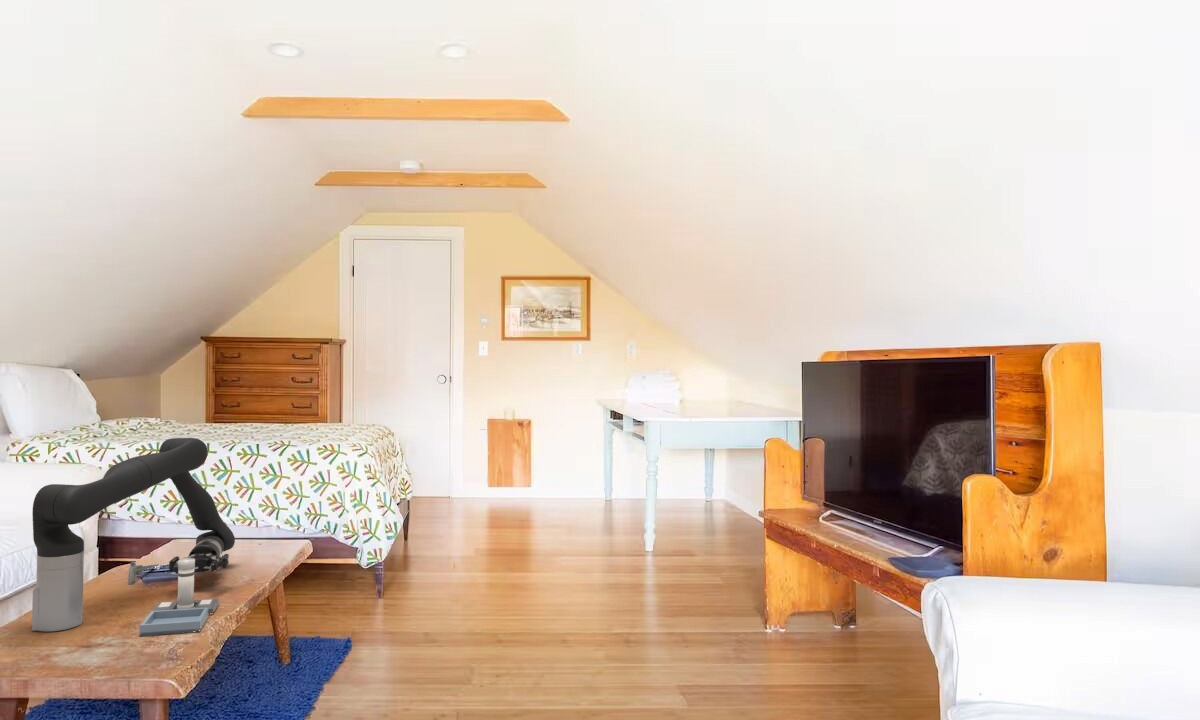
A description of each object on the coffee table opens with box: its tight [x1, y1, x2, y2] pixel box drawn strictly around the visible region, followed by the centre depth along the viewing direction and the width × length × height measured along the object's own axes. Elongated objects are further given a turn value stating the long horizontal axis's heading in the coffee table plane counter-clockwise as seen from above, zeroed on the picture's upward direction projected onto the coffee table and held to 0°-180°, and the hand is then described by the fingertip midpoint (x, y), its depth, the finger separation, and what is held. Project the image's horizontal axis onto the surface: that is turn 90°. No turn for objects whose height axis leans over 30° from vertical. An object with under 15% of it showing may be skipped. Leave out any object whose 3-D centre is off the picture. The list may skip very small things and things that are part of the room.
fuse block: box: [151, 598, 220, 614], centre depth 201 cm, size 14×9×2 cm, turn 107°
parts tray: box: [139, 608, 209, 637], centre depth 190 cm, size 12×11×2 cm
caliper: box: [127, 561, 160, 585], centre depth 234 cm, size 20×1×6 cm, turn 9°
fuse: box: [177, 557, 196, 609], centre depth 201 cm, size 4×4×13 cm
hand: (194, 569), depth 212 cm, fingers open, 8 cm apart
